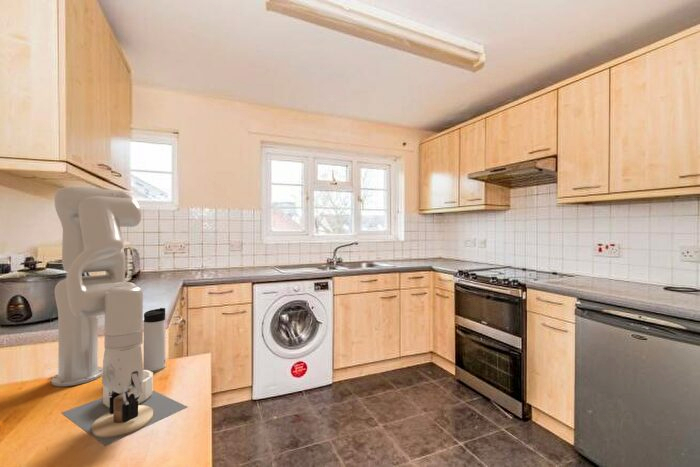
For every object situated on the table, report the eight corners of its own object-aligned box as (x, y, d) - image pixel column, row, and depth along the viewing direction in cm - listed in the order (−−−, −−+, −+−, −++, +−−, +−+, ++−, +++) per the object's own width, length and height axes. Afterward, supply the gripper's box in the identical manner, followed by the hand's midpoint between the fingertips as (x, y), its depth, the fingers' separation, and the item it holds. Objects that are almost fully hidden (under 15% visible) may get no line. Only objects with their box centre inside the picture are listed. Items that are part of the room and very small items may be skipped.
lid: (82, 426, 77) (82, 401, 77) (137, 404, 87) (138, 381, 87) (106, 444, 71) (106, 416, 71) (163, 418, 81) (163, 393, 81)
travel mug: (170, 367, 112) (170, 308, 112) (153, 375, 106) (153, 313, 106) (156, 365, 114) (156, 307, 114) (138, 372, 108) (139, 311, 108)
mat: (61, 415, 83) (61, 412, 83) (140, 386, 99) (140, 384, 99) (105, 448, 70) (105, 445, 70) (187, 409, 86) (187, 406, 86)
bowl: (96, 401, 89) (96, 380, 89) (140, 385, 98) (140, 366, 98) (115, 413, 83) (116, 391, 83) (160, 395, 92) (160, 375, 92)
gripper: (89, 337, 80) (89, 412, 80) (124, 350, 71) (123, 435, 71) (123, 329, 87) (123, 398, 87) (159, 341, 78) (159, 418, 78)
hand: (123, 414), depth 79 cm, fingers open, 5 cm apart
